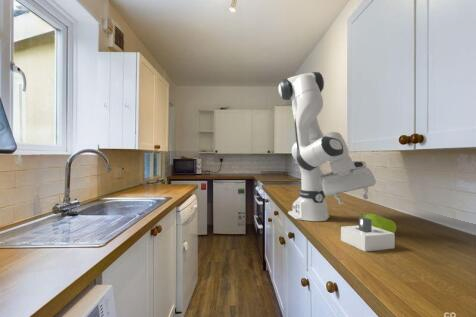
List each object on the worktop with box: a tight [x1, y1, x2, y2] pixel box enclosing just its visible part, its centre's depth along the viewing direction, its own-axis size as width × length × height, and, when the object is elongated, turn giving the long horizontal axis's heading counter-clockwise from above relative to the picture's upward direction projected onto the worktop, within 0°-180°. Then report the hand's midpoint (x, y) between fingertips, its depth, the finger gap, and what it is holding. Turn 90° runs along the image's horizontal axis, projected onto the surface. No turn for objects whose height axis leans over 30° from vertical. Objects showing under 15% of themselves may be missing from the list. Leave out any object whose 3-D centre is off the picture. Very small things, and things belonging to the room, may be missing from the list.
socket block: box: [340, 224, 396, 252], centre depth 94 cm, size 12×12×5 cm
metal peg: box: [358, 217, 372, 233], centre depth 93 cm, size 4×4×9 cm
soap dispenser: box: [359, 212, 397, 233], centre depth 115 cm, size 6×7×20 cm
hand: (353, 201), depth 106 cm, fingers open, 8 cm apart
